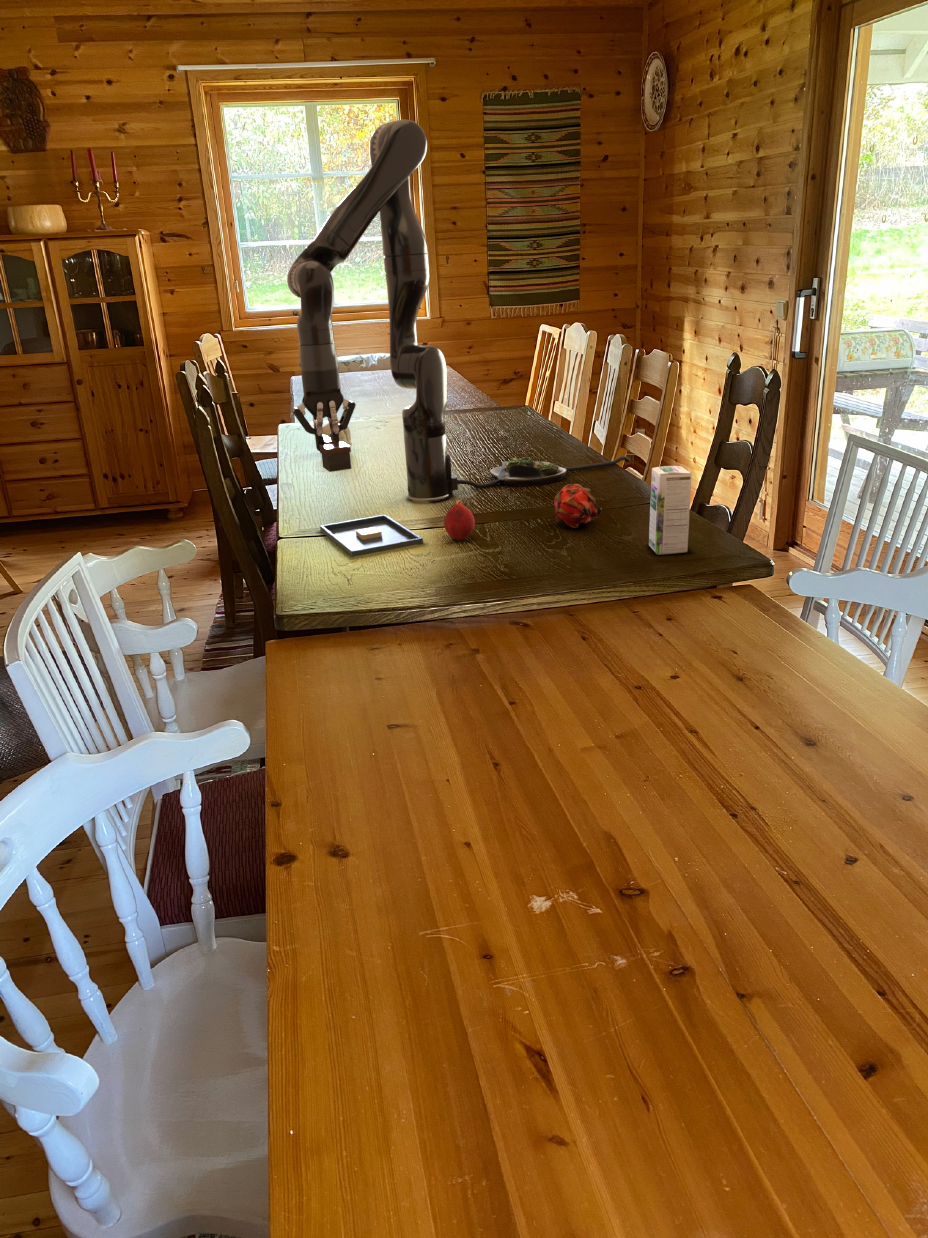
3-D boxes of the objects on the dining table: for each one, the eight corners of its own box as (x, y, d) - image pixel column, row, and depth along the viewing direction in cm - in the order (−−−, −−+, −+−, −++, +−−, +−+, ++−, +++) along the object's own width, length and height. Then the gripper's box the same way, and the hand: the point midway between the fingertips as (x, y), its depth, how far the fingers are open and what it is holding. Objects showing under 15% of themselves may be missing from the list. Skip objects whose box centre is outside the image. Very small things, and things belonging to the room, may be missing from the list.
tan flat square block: (375, 531, 183) (374, 526, 182) (382, 536, 179) (381, 531, 179) (356, 535, 181) (355, 530, 181) (362, 540, 178) (362, 535, 177)
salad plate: (474, 472, 227) (473, 454, 225) (540, 463, 232) (540, 445, 230) (504, 489, 210) (503, 469, 208) (574, 479, 215) (574, 460, 213)
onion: (472, 546, 172) (470, 504, 169) (442, 545, 173) (439, 504, 170) (478, 536, 177) (476, 496, 174) (449, 536, 178) (446, 496, 175)
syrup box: (647, 545, 166) (649, 466, 161) (679, 543, 167) (682, 464, 161) (656, 555, 161) (658, 474, 155) (689, 552, 161) (692, 471, 156)
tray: (386, 520, 191) (385, 514, 190) (423, 545, 174) (422, 538, 173) (320, 532, 186) (319, 525, 185) (352, 558, 169) (351, 551, 168)
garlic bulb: (350, 458, 263) (359, 424, 260) (343, 459, 255) (352, 424, 252) (319, 448, 263) (327, 414, 261) (311, 449, 255) (319, 414, 252)
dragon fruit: (568, 522, 188) (588, 546, 178) (536, 503, 184) (555, 527, 174) (593, 488, 186) (614, 511, 176) (561, 468, 182) (582, 490, 172)
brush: (352, 468, 186) (350, 444, 184) (329, 472, 184) (326, 447, 182) (333, 456, 198) (330, 433, 196) (311, 459, 196) (308, 436, 194)
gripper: (290, 372, 179) (301, 459, 185) (357, 364, 184) (365, 450, 190) (281, 368, 185) (292, 453, 192) (346, 361, 190) (355, 444, 196)
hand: (328, 451), depth 191 cm, fingers closed on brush
